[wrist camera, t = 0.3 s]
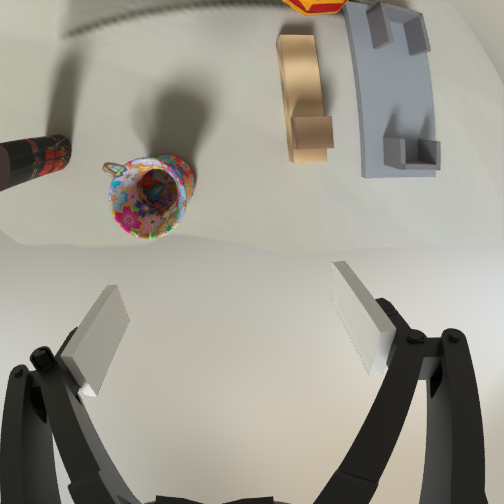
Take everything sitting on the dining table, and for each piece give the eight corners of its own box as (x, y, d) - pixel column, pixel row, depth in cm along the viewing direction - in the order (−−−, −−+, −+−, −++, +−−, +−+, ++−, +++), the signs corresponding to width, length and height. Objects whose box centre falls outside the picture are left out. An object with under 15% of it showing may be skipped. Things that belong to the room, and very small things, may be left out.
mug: (210, 172, 39) (202, 185, 29) (177, 225, 41) (161, 253, 32) (141, 130, 35) (112, 131, 26) (112, 185, 38) (79, 202, 28)
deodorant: (49, 175, 36) (-11, 198, 23) (41, 143, 34) (-20, 156, 20) (75, 163, 36) (15, 182, 22) (66, 129, 34) (4, 135, 20)
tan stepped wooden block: (275, 43, 32) (283, 27, 25) (306, 43, 32) (319, 28, 25) (288, 160, 39) (299, 166, 33) (318, 158, 39) (334, 163, 33)
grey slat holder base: (341, 4, 28) (357, -12, 22) (414, 19, 29) (435, 10, 23) (361, 176, 40) (381, 184, 34) (430, 175, 40) (453, 183, 34)
